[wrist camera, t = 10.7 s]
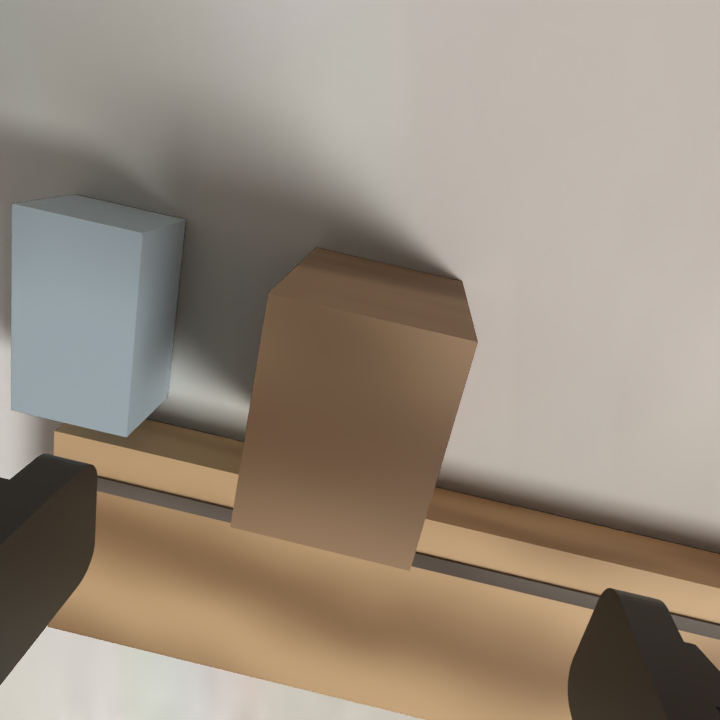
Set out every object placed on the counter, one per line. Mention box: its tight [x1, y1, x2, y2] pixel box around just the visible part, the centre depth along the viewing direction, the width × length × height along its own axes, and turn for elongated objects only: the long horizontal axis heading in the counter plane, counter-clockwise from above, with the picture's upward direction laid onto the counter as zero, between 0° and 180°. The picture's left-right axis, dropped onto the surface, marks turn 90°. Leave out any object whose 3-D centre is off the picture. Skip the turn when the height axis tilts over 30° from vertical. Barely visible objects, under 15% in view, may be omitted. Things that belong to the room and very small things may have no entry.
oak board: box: [48, 419, 720, 720], centre depth 21 cm, size 8×26×2 cm, turn 78°
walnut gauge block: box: [230, 247, 478, 571], centre depth 17 cm, size 6×4×6 cm
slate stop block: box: [11, 194, 186, 437], centre depth 18 cm, size 6×4×3 cm, turn 168°
